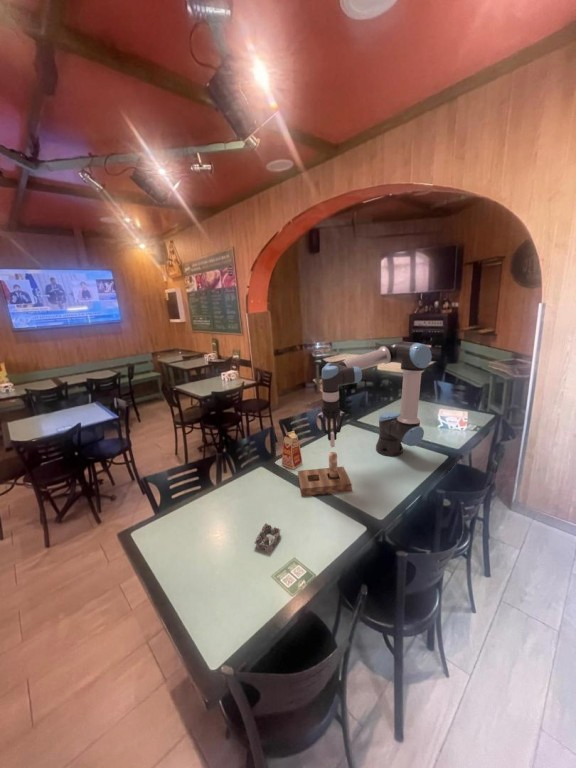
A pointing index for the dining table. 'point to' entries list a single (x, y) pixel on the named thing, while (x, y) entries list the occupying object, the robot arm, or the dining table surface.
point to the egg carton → (267, 538)
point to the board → (323, 481)
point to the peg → (333, 465)
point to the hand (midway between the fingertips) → (332, 445)
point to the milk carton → (291, 451)
